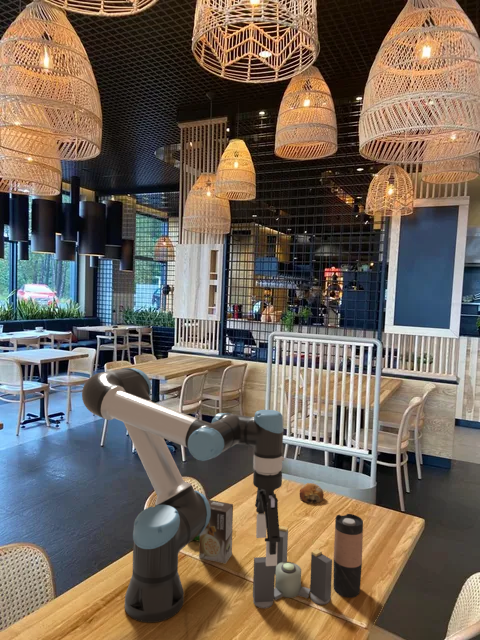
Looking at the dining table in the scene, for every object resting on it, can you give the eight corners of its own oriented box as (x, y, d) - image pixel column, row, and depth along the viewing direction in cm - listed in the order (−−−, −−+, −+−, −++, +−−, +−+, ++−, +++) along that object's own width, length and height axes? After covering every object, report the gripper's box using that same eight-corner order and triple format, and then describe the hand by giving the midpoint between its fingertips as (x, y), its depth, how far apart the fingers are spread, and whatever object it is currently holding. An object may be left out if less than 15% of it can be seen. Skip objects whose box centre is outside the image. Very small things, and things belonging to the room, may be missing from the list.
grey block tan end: (286, 577, 128) (287, 536, 128) (269, 572, 130) (270, 532, 130) (291, 567, 133) (292, 528, 133) (274, 563, 135) (276, 524, 135)
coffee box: (232, 554, 140) (234, 503, 139) (225, 564, 134) (227, 512, 133) (206, 547, 143) (207, 498, 143) (197, 558, 137) (199, 506, 137)
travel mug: (355, 602, 118) (358, 529, 118) (328, 592, 122) (331, 521, 122) (364, 588, 125) (366, 518, 124) (337, 578, 129) (340, 510, 128)
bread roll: (325, 507, 183) (328, 487, 186) (316, 505, 175) (320, 484, 178) (303, 501, 188) (306, 482, 191) (294, 498, 180) (298, 478, 183)
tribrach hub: (274, 605, 116) (274, 580, 116) (259, 580, 127) (260, 557, 126) (313, 598, 120) (314, 573, 119) (296, 574, 130) (297, 551, 130)
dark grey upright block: (255, 609, 114) (256, 563, 114) (251, 595, 119) (253, 552, 119) (274, 607, 115) (276, 562, 114) (270, 594, 120) (272, 551, 120)
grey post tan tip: (334, 599, 119) (335, 556, 118) (320, 607, 116) (322, 562, 115) (319, 589, 123) (320, 547, 123) (306, 596, 120) (307, 553, 119)
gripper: (294, 488, 104) (291, 577, 105) (271, 454, 129) (270, 526, 129) (262, 490, 103) (260, 579, 104) (246, 455, 128) (244, 527, 128)
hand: (266, 550), depth 116 cm, fingers open, 13 cm apart
